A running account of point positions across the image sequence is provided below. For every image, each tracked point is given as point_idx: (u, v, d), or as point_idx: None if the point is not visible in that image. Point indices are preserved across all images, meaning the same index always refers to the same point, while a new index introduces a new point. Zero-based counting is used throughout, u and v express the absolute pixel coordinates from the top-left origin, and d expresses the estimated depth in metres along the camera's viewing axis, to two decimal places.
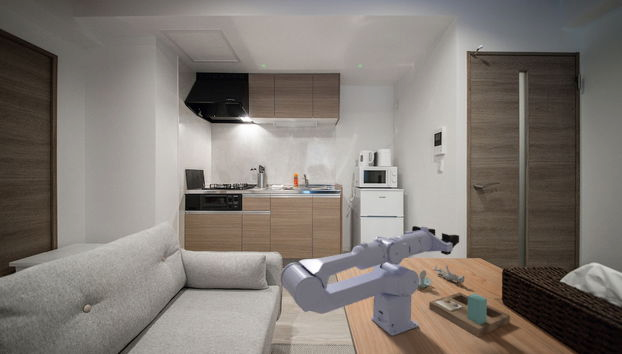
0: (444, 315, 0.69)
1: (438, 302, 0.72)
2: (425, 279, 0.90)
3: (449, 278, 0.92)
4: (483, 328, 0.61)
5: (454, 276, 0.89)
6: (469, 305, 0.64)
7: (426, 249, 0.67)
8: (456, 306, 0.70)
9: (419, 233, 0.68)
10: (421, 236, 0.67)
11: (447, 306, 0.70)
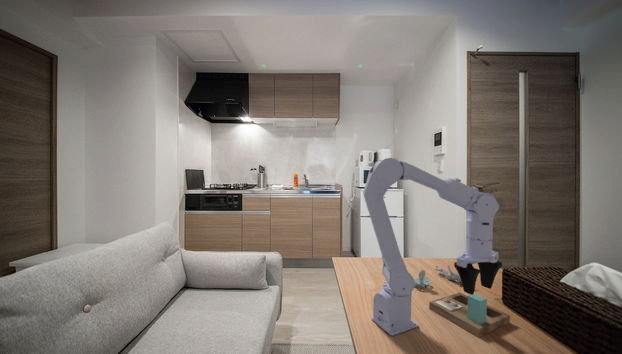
0: (444, 315, 0.69)
1: (438, 302, 0.72)
2: (424, 279, 0.90)
3: (451, 278, 0.92)
4: (483, 328, 0.61)
5: (456, 276, 0.90)
6: (469, 305, 0.64)
7: (467, 246, 0.64)
8: (456, 306, 0.70)
9: (488, 248, 0.61)
10: (483, 246, 0.61)
11: (447, 306, 0.70)
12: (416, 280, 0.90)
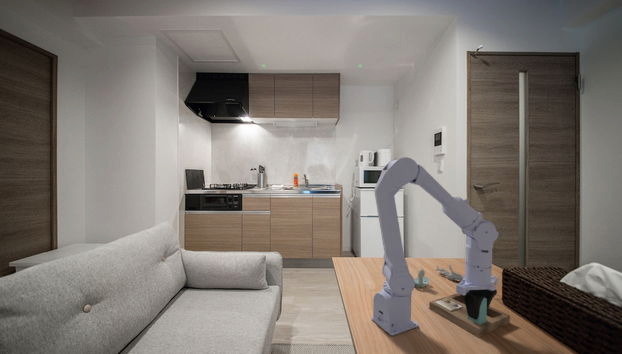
0: (444, 315, 0.69)
1: (438, 302, 0.72)
2: (423, 278, 0.90)
3: (452, 278, 0.92)
4: (483, 328, 0.61)
5: (458, 276, 0.90)
6: None
7: (466, 272, 0.64)
8: (456, 306, 0.70)
9: (487, 275, 0.61)
10: (482, 273, 0.61)
11: (447, 306, 0.70)
12: (415, 280, 0.90)
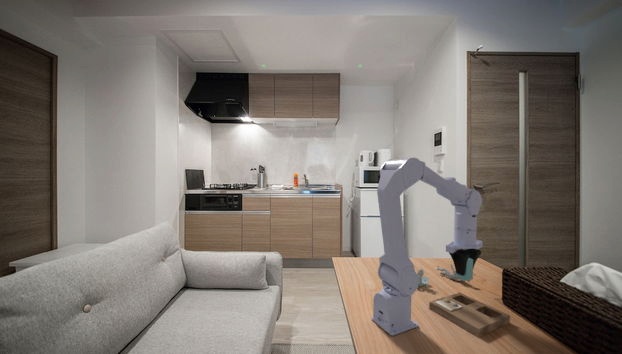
0: (444, 315, 0.69)
1: (438, 302, 0.72)
2: (423, 278, 0.90)
3: (454, 277, 0.93)
4: (483, 328, 0.61)
5: None
6: None
7: (455, 235, 0.74)
8: (456, 306, 0.70)
9: (472, 237, 0.71)
10: (468, 235, 0.71)
11: (447, 306, 0.70)
12: None
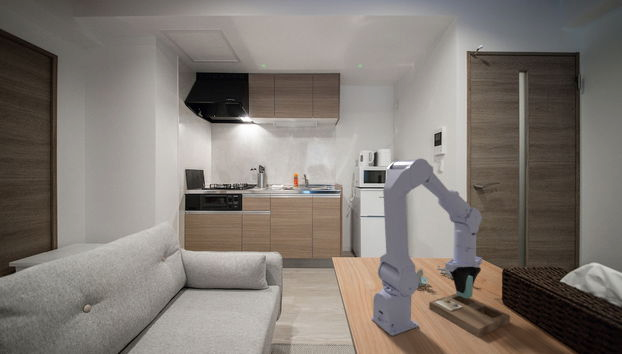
0: (444, 315, 0.69)
1: (438, 302, 0.72)
2: (422, 278, 0.91)
3: None
4: (483, 328, 0.61)
5: None
6: None
7: (454, 253, 0.74)
8: (456, 306, 0.70)
9: (472, 255, 0.71)
10: (468, 253, 0.71)
11: (447, 306, 0.70)
12: None
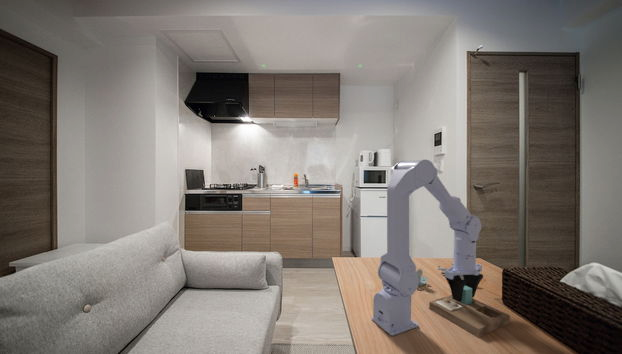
0: (444, 315, 0.69)
1: (438, 302, 0.72)
2: (421, 277, 0.91)
3: None
4: (483, 328, 0.61)
5: (462, 275, 0.91)
6: None
7: (454, 260, 0.74)
8: (456, 306, 0.70)
9: (472, 262, 0.72)
10: (467, 261, 0.72)
11: (447, 306, 0.70)
12: None
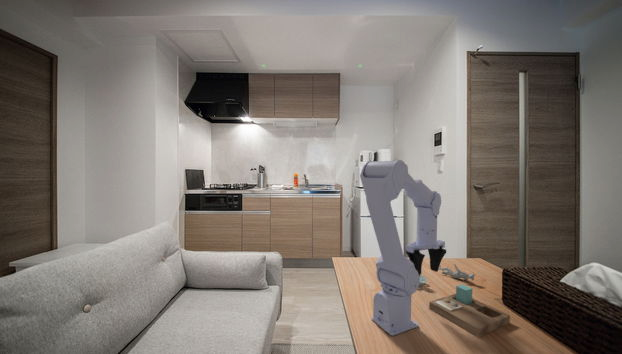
0: (444, 315, 0.69)
1: (438, 302, 0.72)
2: (421, 277, 0.91)
3: (458, 276, 0.94)
4: (483, 328, 0.61)
5: (464, 274, 0.91)
6: (457, 294, 0.75)
7: (417, 236, 0.77)
8: (456, 306, 0.70)
9: (432, 237, 0.74)
10: (428, 235, 0.74)
11: (447, 306, 0.70)
12: None
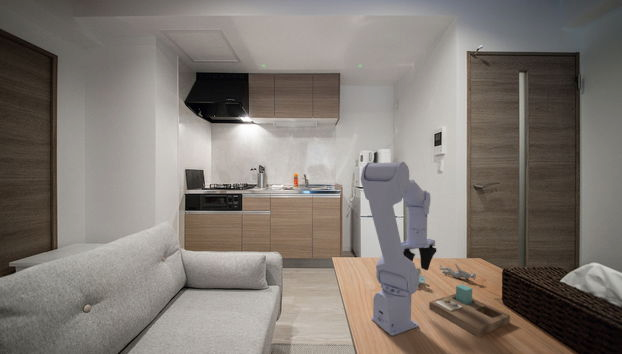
0: (444, 315, 0.69)
1: (438, 302, 0.72)
2: (420, 277, 0.91)
3: (459, 276, 0.94)
4: (483, 328, 0.61)
5: (466, 273, 0.92)
6: (457, 294, 0.75)
7: (407, 235, 0.77)
8: (456, 306, 0.70)
9: (422, 236, 0.75)
10: (418, 234, 0.75)
11: (447, 306, 0.70)
12: None
